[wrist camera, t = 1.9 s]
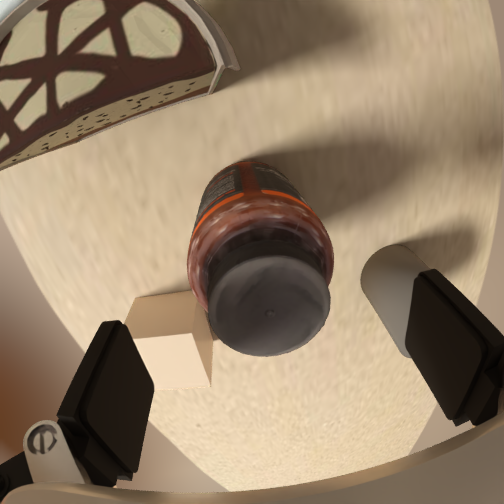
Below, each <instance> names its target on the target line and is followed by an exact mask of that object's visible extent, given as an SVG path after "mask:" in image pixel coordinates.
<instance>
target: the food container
mask: <svg viewBox="0 0 504 504" xmlns="http://www.w3.org/2000/svg"><path fill="white" fill-rule="evenodd" d="M225 68H230V69H233V70H235V71H238V70H241V69H240V66H239V64H238V61H237V58H236V56H235V53H234V51H233V48H232V46H231V44H230V43H229V41H228V39H227V38H226V36H225V34H224V33H223V31H222V29H221V28H220V26H219V25H218V24H217V23H216V21H215V20H214V19H213V18H212V17H211V16H210V15H209V14H208V13H207V11H206V10H205V9H204V8H203V7H201V6H200V5H199V4H197V3H196V2H195V1H193V0H26V1H24V2H23V3H22V4H20V5H19V6H18V7H17V8H15V9H14V10H13V11H12V12H11V13H10V14H9V15H8V16H7V17H6V18H5V19H4V20H3V21H2V22H1V23H0V171H1V170H4V169H6V168H8V167H11V166H13V165H16V164H18V163H21V162H23V161H26V160H29V159H31V158H34V157H37V156H39V155H42V154H45V153H48V152H51V151H53V150H56V149H59V148H62V147H65V146H68V145H72V144H75V143H78V142H80V141H82V140H84V139H86V138H89V137H91V136H93V135H95V134H98V133H100V132H102V131H105V130H107V129H110V128H112V127H114V126H117V125H119V124H122V123H125V122H127V121H130V120H132V119H135V118H138V117H140V116H143V115H146V114H149V113H152V112H155V111H157V110H160V109H163V108H166V107H169V106H173V105H176V104H179V103H182V102H185V101H189V100H192V99H196V98H199V97H203V96H206V95H210V94H212V93H213V91H214V89H215V87H216V85H217V83H218V81H219V79H220V77H221V75H222V73H223V71H224V69H225Z"/></svg>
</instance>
